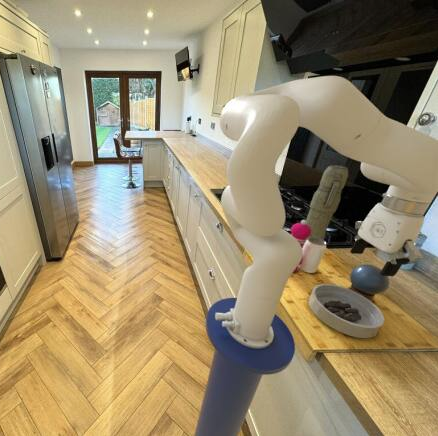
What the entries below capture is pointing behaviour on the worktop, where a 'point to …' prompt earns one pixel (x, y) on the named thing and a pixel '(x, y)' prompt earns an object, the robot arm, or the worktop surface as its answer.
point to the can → (312, 254)
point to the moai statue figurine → (326, 200)
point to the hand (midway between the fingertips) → (370, 263)
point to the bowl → (330, 292)
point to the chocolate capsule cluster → (349, 312)
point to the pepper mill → (300, 234)
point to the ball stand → (368, 281)
